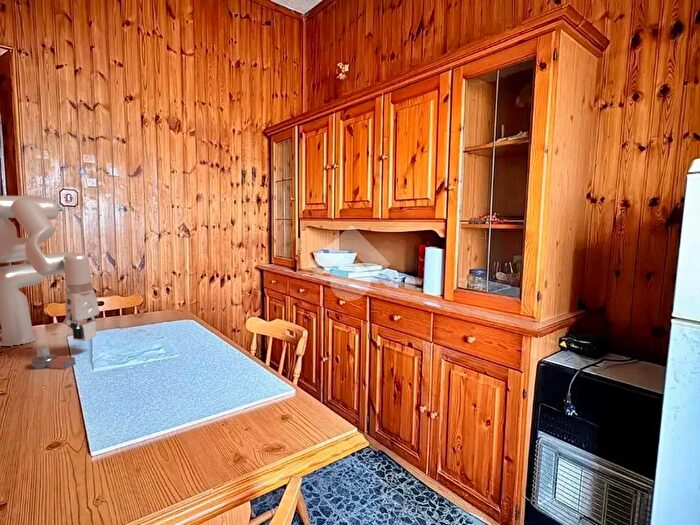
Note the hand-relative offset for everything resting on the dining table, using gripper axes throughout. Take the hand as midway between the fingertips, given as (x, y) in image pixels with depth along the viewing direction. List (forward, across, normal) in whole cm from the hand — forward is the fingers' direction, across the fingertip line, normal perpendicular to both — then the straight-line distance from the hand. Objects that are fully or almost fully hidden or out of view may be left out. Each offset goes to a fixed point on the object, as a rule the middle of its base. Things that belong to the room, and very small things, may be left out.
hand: (84, 335), depth 148 cm
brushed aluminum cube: (+1, 0, 0) cm, 1 cm away
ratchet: (+7, -12, +1) cm, 14 cm away
